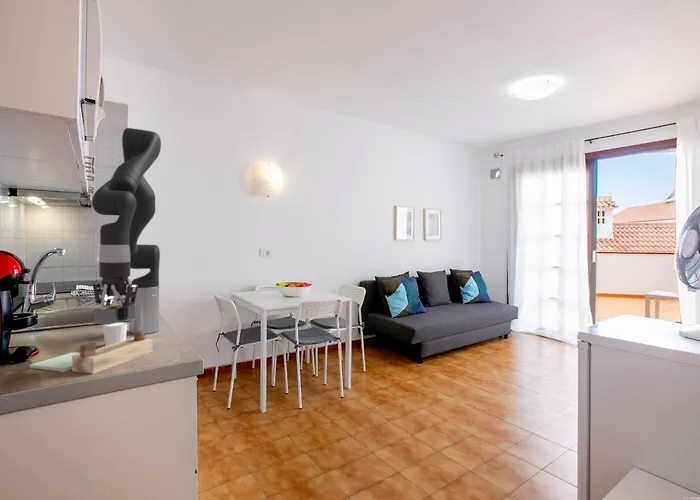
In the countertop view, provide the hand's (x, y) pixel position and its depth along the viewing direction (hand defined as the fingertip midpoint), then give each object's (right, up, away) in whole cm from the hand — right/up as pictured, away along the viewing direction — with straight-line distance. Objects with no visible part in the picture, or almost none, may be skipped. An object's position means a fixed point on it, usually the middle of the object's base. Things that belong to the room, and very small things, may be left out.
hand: (115, 319), depth 106 cm
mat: (-12, -12, -2) cm, 17 cm away
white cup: (-10, -12, +16) cm, 22 cm away
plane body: (0, -12, 0) cm, 12 cm away
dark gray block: (0, 0, 0) cm, 0 cm away
